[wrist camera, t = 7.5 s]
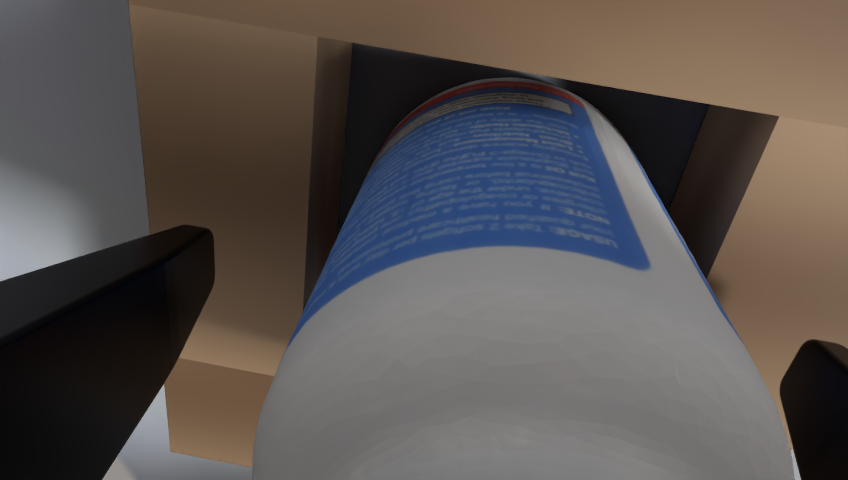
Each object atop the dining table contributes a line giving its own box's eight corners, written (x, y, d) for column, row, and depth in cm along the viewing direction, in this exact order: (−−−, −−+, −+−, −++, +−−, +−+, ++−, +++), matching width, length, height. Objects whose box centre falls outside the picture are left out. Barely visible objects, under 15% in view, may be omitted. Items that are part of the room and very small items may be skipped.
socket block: (689, 464, 15) (721, 559, 13) (217, 374, 15) (170, 451, 13) (974, -78, 9) (1126, -75, 7) (197, -204, 9) (106, -238, 7)
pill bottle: (322, 227, 13) (-27, 844, 4) (473, 9, 10) (351, 434, 2) (524, 356, 14) (561, 1059, 5) (703, 185, 11) (1292, 970, 3)
